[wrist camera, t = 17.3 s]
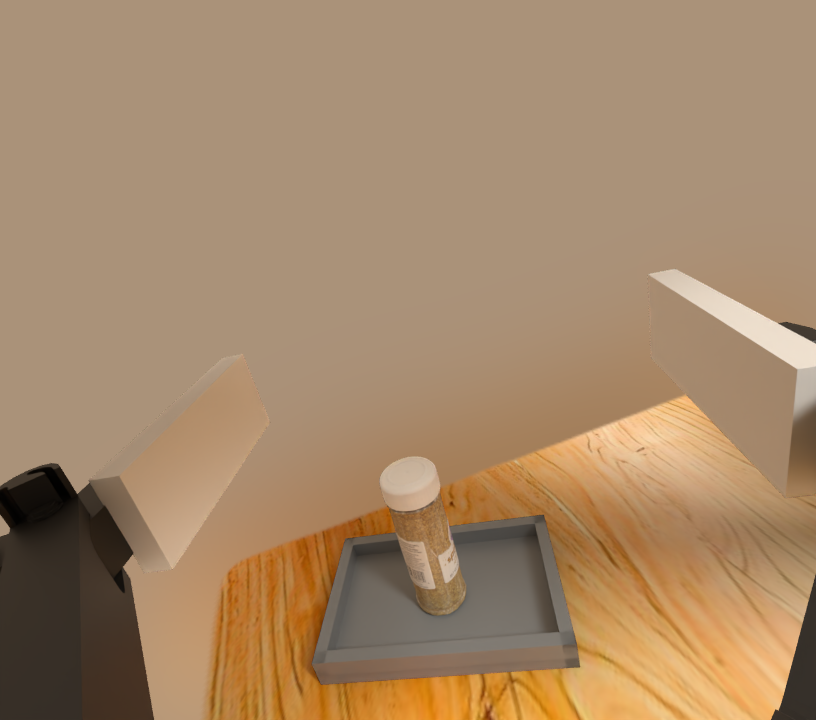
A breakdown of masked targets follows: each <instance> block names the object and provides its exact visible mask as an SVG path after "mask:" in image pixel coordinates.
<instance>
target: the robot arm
mask: <svg viewBox="0 0 816 720" xmlns="http://www.w3.org/2000/svg"><path fill="white" fill-rule="evenodd" d="M648 292H649V320H650V344H651V345H650V346H651V358H652V360H653V361H654V362H655V363H656V364H657V365H658V366H659V367H660V368H661V369H662V370H663V371H664V372H665V373H666V374H667V375H668V376H669V377H670V378H671V379H672V380H673V381H674V382H675V384H677V386H678V387H679V388H680V389H681V390H682V391H683V392H684V393H685V394H686V395H687V396H688V397H689V398H690V399H691V400H692V401H693V402H694V403H695V404H696V406H697V407H698V408H699V409H700V410H701V411H702V412H703V413H704V414H705V415H706V416H707V417H708V418H709V419H710V420H711V421H712V422H713V423H714V424H715V425H716V426H717V427H718V428H719V429H720V431H721V432H722V433H723V434H724V435H725V436H726V437H727V438H728V439H729V440H730V441H731V442H732V443H733V444H734V445H735V446H736V447H737V448H738V449H739V450H740V451H741V452H742V453H743V454H744V456H745V457H746V458H747V459H748V460H749V461H750V462H751V463H752V464H753V465H754V466H755V467H756V468H757V469H758V470H759V471H760V472H761V473H762V474H763V475H764V476H765V477H766V478H767V479H768V481H769V482H770V483H771V484H772V485H773V486H774V487H775V488H776V489H777V490H778V491H779V492H780V493H781V494H782V495H783V496H784V497H785V498H791V497H800V496H808V495H816V330H815V329H813V328H810V327H806V326H801V325H797V324H792V323H788V322H783V323H776V322H774V321H772V320H770V319H768V318H766V317H765V316H763V315H761V314H759V313H757V312H755V311H753V310H752V309H750V308H748V307H746V306H744V305H742V304H740V303H738V302H736V301H734V300H732V299H731V298H729V297H727V296H725V295H723V294H721V293H720V292H718V291H716V290H714V289H712V288H710V287H708V286H706V285H705V284H703V283H701V282H699V281H697V280H695V279H693V278H691V277H690V276H688V275H686V274H684V273H682V272H680V271H678V270H676V269H672V270H668V271H662V272H657V273H652V274H648ZM269 423H270V421H269V418H268V416H267V413H266V411H265V408H264V406H263V403H262V401H261V398H260V396H259V393H258V391H257V388H256V386H255V383H254V381H253V378H252V376H251V373H250V371H249V368H248V366H247V363H246V361H245V358H244V356H243V354H240V355H235V356H229V357H225V358H222V359H221V360H220V361H218V362H217V363H216V364H215V365H214V366H213V367H212V368H211V369H210V370H209V371H208V372H206V373H205V374H204V375H203V376H202V377H201V378H200V379H199V380H198V381H197V382H196V383H194V385H192V386H191V387H190V388H189V389H188V390H187V391H186V392H185V393H184V394H182V395H181V396H180V397H179V398H178V399H177V400H176V401H175V402H174V403H173V404H172V405H171V406H169V407H168V408H167V409H166V410H165V411H164V412H163V413H162V414H161V415H160V416H158V418H156V419H155V420H154V421H153V422H152V423H151V424H150V425H149V426H148V427H146V428H145V429H144V430H143V431H142V432H141V433H140V434H139V435H138V436H137V437H136V438H135V439H133V440H132V441H131V442H130V443H129V444H128V445H127V446H126V447H125V448H124V449H123V450H121V451H120V452H119V453H118V454H117V455H116V456H115V457H114V458H113V459H112V460H110V462H108V463H107V464H106V465H105V466H104V467H103V468H102V469H101V470H100V471H99V472H98V473H96V474H95V475H94V476H93V477H92V478H91V479H90V480H89V482H90V483H89V484H88V485H87V486H86V487H85V488H84V489H82V490H81V491H80V492H79V493H78V494H77V493H76V491H75V490H74V488H73V487H72V485H71V483H70V482H69V480H68V479H67V477H66V475H65V474H64V472H63V471H62V469H61V467H60V466H59V465H58V464H52V463H51V464H47V465H42V466H39V467H36V468H33V469H31V470H28V471H26V472H24V473H22V474H20V475H18V476H16V477H14V478H12V479H11V480H9V481H8V482H6V483H4V484H3V485H2V486H0V515H1V516H2V517H3V519H4V520H5V522H6V523H7V524H8V526H9V527H10V532H9V534H7V535H4V536H1V537H0V720H154V717H153V711H152V705H151V699H150V694H149V687H148V682H147V675H146V670H145V664H144V658H143V652H142V646H141V640H140V634H139V628H138V622H137V616H136V610H135V604H134V598H133V593H132V586H131V581H130V578H129V577H128V575H127V573H126V572H125V570H124V568H123V566H124V565H125V564H126V562H127V561H128V560H129V558H130V557H131V556H132V555H134V557H135V558H136V560H137V562H138V563H139V565H140V567H141V568H142V570H143V572H144V573H149V572H158V571H167V570H173V569H174V567H175V566H176V564H177V563H178V561H179V560H180V558H181V557H182V555H183V554H184V552H185V551H186V549H187V547H188V546H189V544H190V543H191V541H192V540H193V538H194V537H195V535H196V534H197V532H198V531H199V529H200V528H201V526H202V525H203V523H204V522H205V520H206V519H207V517H208V516H209V514H210V513H211V511H212V510H213V508H214V507H215V505H216V504H217V502H218V500H219V499H220V497H221V496H222V494H223V493H224V491H225V490H226V488H227V487H228V485H229V484H230V482H231V481H232V479H233V478H234V476H235V475H236V473H237V472H238V470H239V469H240V467H241V465H242V464H243V462H244V461H245V460H246V458H247V457H248V455H249V453H250V452H251V450H252V449H253V447H254V446H255V444H256V443H257V441H258V440H259V438H260V437H261V435H262V434H263V432H264V431H265V429H266V428H267V426H268V425H269ZM771 720H816V575H815V579H814V583H813V587H812V591H811V594H810V598H809V602H808V606H807V609H806V613H805V617H804V621H803V624H802V628H801V632H800V636H799V639H798V643H797V647H796V651H795V655H794V658H793V662H792V666H791V670H790V673H789V677H788V681H787V685H786V688H785V692H784V696H783V699H782V703H781V706H780V708H779V711H778V710H775V712H774V714H773V716H772V719H771Z"/></svg>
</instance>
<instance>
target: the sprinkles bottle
mask: <svg viewBox="0 0 816 720" xmlns="http://www.w3.org/2000/svg"><path fill="white" fill-rule="evenodd" d="M379 484H380V488H381V492H382V495H383V499H384V501H385V503H386V504H387V506H388V507H389V510H390V513H391V515H392V519H393V522H394V526H395V531H396V535H397V538H398V541H399V544H400V547H401V550H402V553H403V556H404V559H405V562H406V565H407V568H408V571H409V575H410V577H411V579H412V581H413V584H414V587H415V590H416V598H417V602H418V604H419V606H420V607H421V608H422V609H423V610H424V611H425V612H427V613H429V614H432V615H437V616H439V615H446V614H450V613H452V612H453V611H455V610H456V609H458V607H459V606H460V605H461V604H462V603H463V601H464V599H465V596H466V584H465V581H464V579H463V577H462V574H461V570H460V566H459V560H458V556H457V552H456V549H455V545H454V542H453V538H452V534H451V531H450V527H449V523H448V519H447V517H446V514H445V510H444V506H443V502H442V499H441V495H440V481H439V477H438V473H437V470H436V467H435V465H434V464H433V463H432V462H431V461H430V460H428V459H426V458H423V457H417V456H413V457H406V458H402V459H399V460H397V461H395V462H393V463H391V464H390V465H389V466H387V467H386V468H385V469H384V471H383V472H382V474H381V476H380V479H379Z"/></svg>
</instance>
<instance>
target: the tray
mask: <svg viewBox="0 0 816 720" xmlns="http://www.w3.org/2000/svg"><path fill="white" fill-rule="evenodd" d="M449 527H450V531H451V534H452V538H453V542H454V545H455V549H456V552H457V556H458V560H459V566H460V570H461V574H462V577H463V579H464V581H465V584H466V596H465V599H464V601H463V603H462V604H461V605H460V606H459V607H458V609H456V610H455V611H453V612H452V613H450V614H446V615H439V616H437V615H432V614H429V613H427V612H425V611H424V610H423V609H422V608H421V607H420V606H419V604H418V602H417V598H416V590H415V587H414V584H413V581H412V579H411V577H410V575H409V571H408V568H407V565H406V562H405V559H404V556H403V553H402V550H401V547H400V544H399V541H398V538H397V535H396V533H388V534H380V535H372V536H364V537H355V538H347V539H345V542H344V546H343V550H342V553H341V557H340V561H339V564H338V568H337V572H336V576H335V579H334V583H333V587H332V590H331V594H330V598H329V602H328V605H327V609H326V613H325V617H324V620H323V624H322V628H321V631H320V635H319V639H318V643H317V646H316V650H315V654H314V657H313V661H312V666H313V668H314V670H315V672H316V674H317V676H318V679H319V681H320V683H321V685H323V684H337V683H352V682H367V681H382V680H396V679H411V678H426V677H441V676H455V675H470V674H485V673H500V672H514V671H529V670H544V669H559V668H573V667H580V663H579V656H578V649H577V643H576V639H575V635H574V631H573V627H572V623H571V619H570V616H569V612H568V608H567V604H566V600H565V596H564V592H563V588H562V584H561V580H560V576H559V572H558V569H557V565H556V561H555V557H554V553H553V549H552V545H551V541H550V537H549V533H548V529H547V525H546V522H545V518H544V515H537V516H529V517H521V518H513V519H504V520H496V521H488V522H479V523H471V524H463V525H455V526H449Z"/></svg>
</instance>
